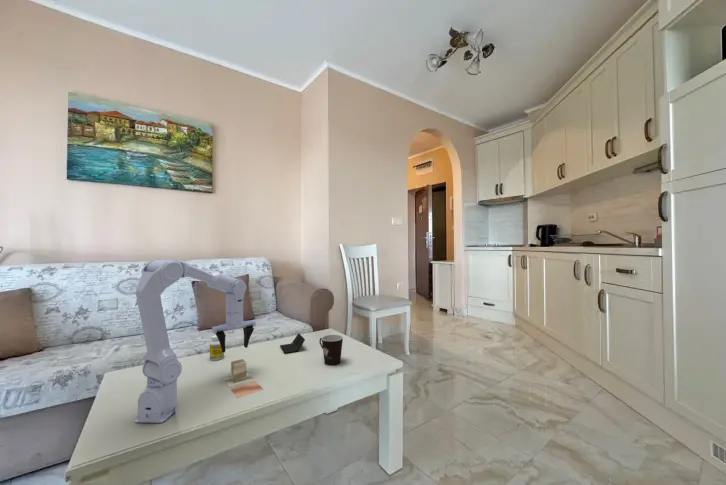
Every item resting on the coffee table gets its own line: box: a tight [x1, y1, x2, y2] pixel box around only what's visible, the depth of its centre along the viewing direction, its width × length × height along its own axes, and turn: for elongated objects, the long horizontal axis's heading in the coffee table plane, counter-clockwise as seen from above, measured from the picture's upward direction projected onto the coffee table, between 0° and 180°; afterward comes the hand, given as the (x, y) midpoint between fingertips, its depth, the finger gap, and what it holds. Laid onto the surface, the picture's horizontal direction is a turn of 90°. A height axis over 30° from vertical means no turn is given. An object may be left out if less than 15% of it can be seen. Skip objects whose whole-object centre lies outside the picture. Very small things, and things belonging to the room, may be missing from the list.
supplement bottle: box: [209, 334, 225, 362], centre depth 127 cm, size 5×5×10 cm
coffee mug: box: [319, 334, 344, 367], centre depth 124 cm, size 12×9×10 cm
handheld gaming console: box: [279, 332, 306, 355], centre depth 138 cm, size 12×7×10 cm
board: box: [223, 371, 264, 399], centre depth 102 cm, size 18×10×1 cm, turn 38°
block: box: [230, 358, 247, 383], centre depth 105 cm, size 4×4×6 cm
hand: (234, 349), depth 109 cm, fingers open, 7 cm apart
